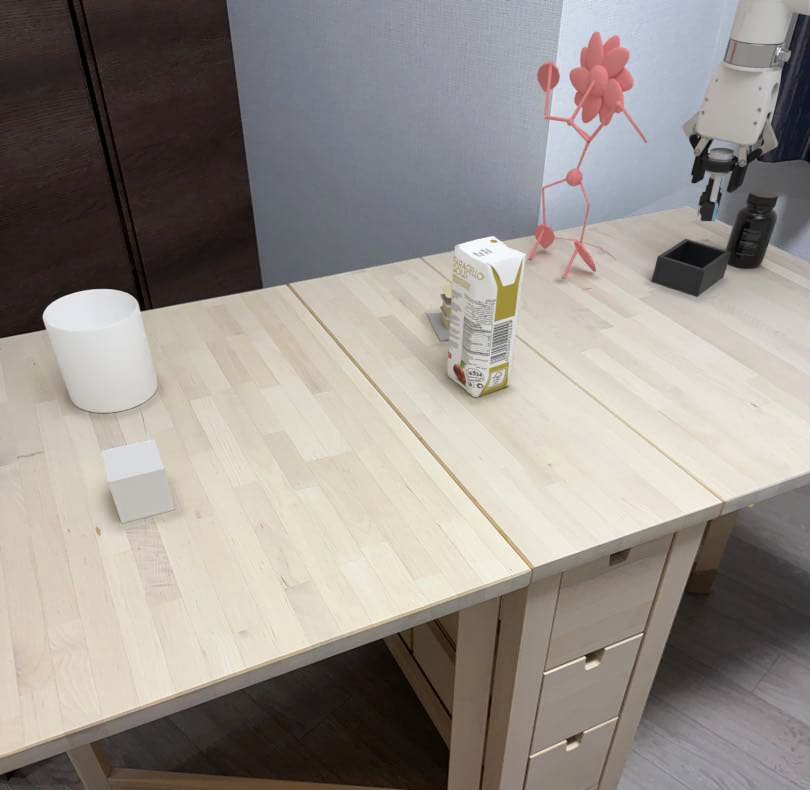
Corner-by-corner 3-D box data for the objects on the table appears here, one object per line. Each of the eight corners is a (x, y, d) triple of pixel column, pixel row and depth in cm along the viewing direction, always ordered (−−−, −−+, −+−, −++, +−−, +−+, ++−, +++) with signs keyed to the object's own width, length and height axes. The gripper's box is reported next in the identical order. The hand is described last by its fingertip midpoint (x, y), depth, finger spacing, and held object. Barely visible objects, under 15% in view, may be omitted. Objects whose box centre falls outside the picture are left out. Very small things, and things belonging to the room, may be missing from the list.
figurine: (593, 297, 126) (641, 55, 101) (497, 245, 141) (519, 23, 117) (656, 276, 132) (715, 43, 108) (558, 228, 147) (590, 15, 123)
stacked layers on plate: (439, 340, 114) (441, 307, 111) (426, 313, 121) (427, 281, 117) (502, 334, 116) (505, 301, 112) (485, 308, 122) (488, 276, 118)
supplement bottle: (769, 263, 136) (793, 195, 128) (745, 272, 134) (769, 203, 125) (738, 250, 141) (760, 184, 132) (714, 259, 138) (735, 191, 129)
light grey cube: (175, 509, 85) (164, 468, 81) (121, 523, 84) (107, 482, 79) (165, 479, 89) (154, 438, 85) (114, 491, 88) (100, 450, 83)
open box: (723, 276, 132) (731, 251, 129) (697, 296, 126) (704, 271, 123) (678, 263, 136) (685, 238, 133) (651, 281, 130) (657, 256, 127)
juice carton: (474, 403, 102) (486, 268, 89) (439, 374, 107) (445, 243, 94) (517, 387, 105) (535, 255, 92) (481, 360, 110) (493, 231, 97)
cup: (121, 359, 109) (99, 280, 101) (175, 385, 104) (157, 304, 96) (52, 394, 102) (22, 313, 94) (107, 423, 97) (81, 340, 89)
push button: (686, 207, 126) (700, 143, 120) (718, 208, 126) (734, 143, 119) (692, 222, 122) (707, 156, 115) (726, 222, 121) (743, 156, 114)
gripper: (820, 60, 106) (775, 192, 118) (707, 42, 114) (676, 168, 127) (801, 68, 102) (756, 205, 114) (685, 49, 110) (655, 179, 122)
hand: (714, 184), depth 120 cm, fingers closed on push button, 5 cm apart
